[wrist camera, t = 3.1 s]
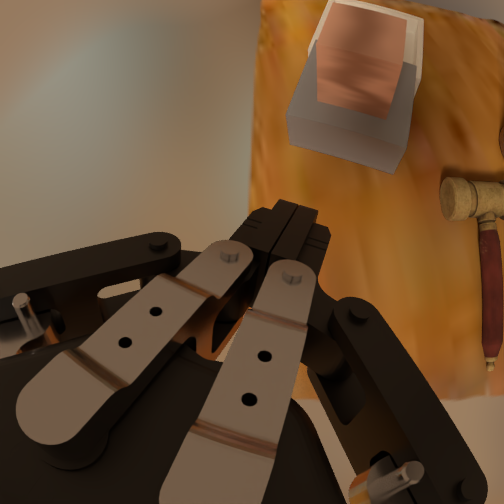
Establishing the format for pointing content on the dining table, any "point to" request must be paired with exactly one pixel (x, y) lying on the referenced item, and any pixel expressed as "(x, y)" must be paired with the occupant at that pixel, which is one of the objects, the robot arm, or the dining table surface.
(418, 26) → the box
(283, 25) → the dining table surface
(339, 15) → the terracotta block
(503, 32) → the dining table surface
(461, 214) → the gavel
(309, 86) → the grey platform
